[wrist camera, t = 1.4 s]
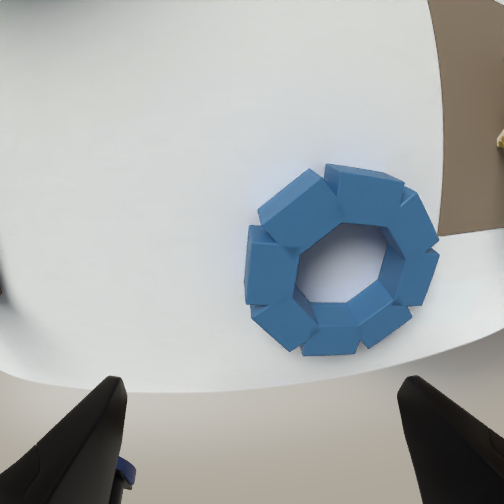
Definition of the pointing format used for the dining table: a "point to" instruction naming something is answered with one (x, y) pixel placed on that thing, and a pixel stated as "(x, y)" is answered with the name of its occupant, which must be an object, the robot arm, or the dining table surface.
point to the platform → (471, 113)
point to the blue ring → (316, 227)
